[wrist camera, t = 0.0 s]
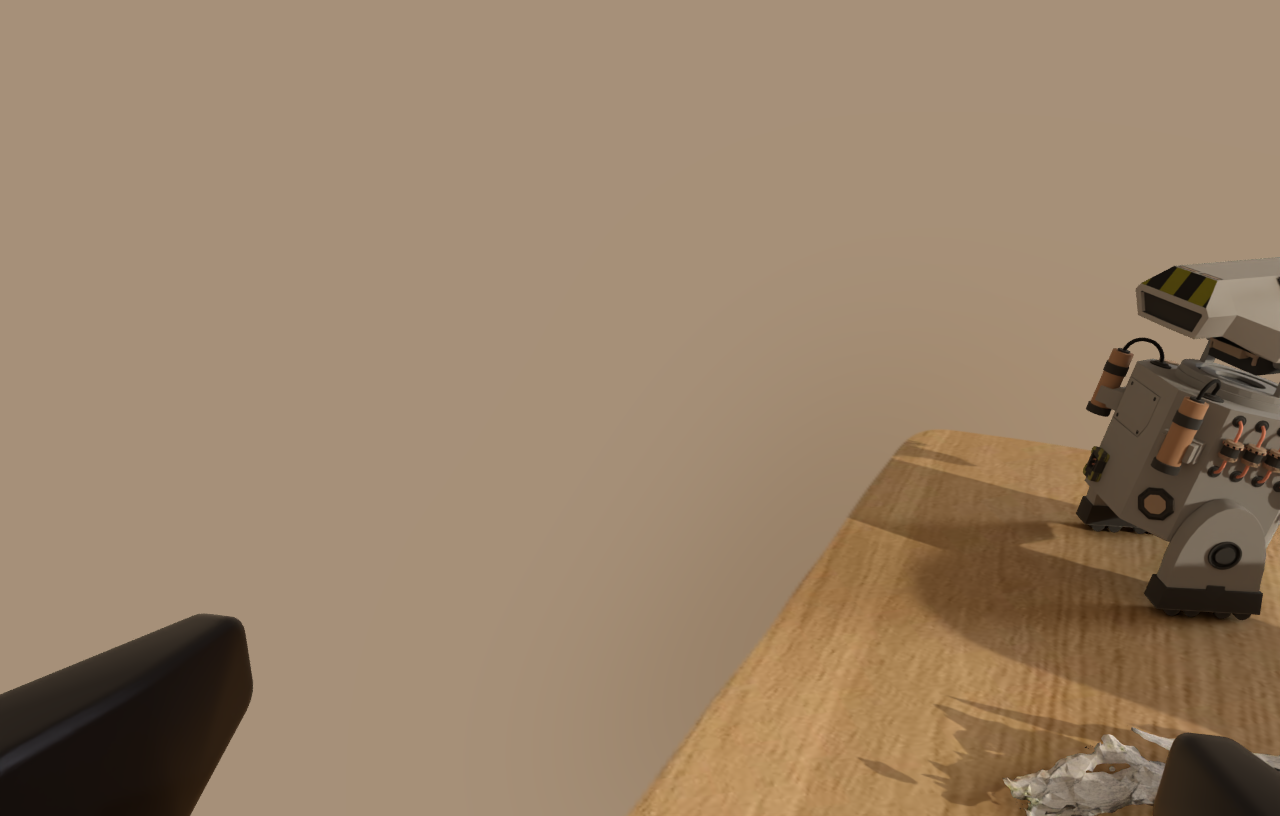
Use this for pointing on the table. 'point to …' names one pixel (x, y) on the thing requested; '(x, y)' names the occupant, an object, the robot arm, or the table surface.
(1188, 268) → the figurine
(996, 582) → the table surface
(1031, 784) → the driftwood
